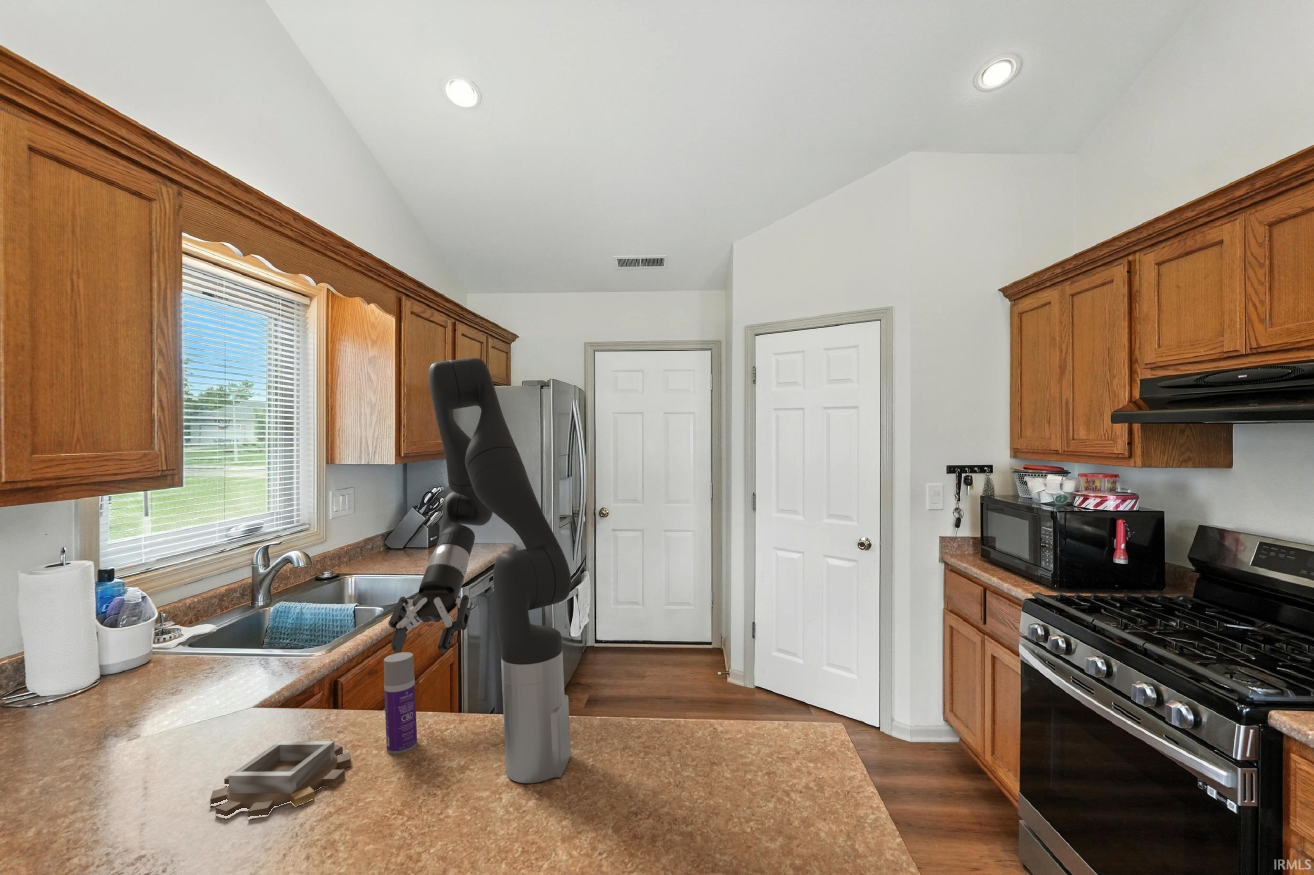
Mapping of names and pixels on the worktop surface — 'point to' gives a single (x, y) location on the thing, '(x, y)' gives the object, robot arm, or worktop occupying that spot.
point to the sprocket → (282, 777)
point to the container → (400, 703)
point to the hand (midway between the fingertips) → (418, 651)
